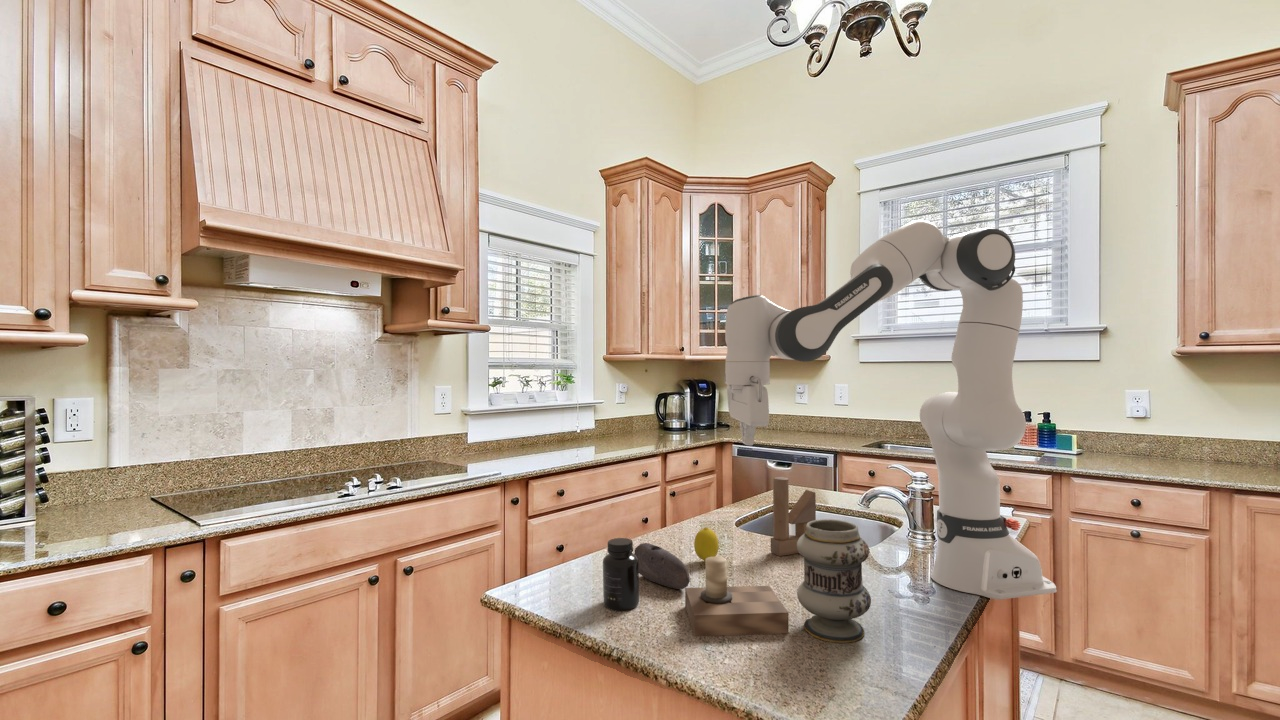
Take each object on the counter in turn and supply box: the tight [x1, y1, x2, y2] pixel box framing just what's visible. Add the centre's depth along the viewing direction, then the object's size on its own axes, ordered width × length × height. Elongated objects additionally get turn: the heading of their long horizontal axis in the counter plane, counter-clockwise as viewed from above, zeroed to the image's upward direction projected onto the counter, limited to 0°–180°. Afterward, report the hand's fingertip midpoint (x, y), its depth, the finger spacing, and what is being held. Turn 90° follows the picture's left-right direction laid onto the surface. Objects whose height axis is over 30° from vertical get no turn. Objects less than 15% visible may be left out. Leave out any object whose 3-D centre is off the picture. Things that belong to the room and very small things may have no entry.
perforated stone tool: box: [633, 542, 691, 590], centre depth 124 cm, size 15×5×7 cm, turn 38°
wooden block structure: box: [770, 476, 817, 557], centre depth 144 cm, size 4×11×18 cm, turn 112°
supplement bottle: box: [602, 537, 640, 612], centre depth 114 cm, size 7×7×12 cm
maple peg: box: [701, 556, 732, 604], centre depth 108 cm, size 6×6×10 cm
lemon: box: [693, 527, 720, 562], centre depth 137 cm, size 6×6×8 cm
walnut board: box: [684, 585, 790, 637], centre depth 107 cm, size 16×12×4 cm
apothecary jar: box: [796, 518, 872, 644], centre depth 102 cm, size 12×12×18 cm
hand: (747, 444), depth 121 cm, fingers closed
